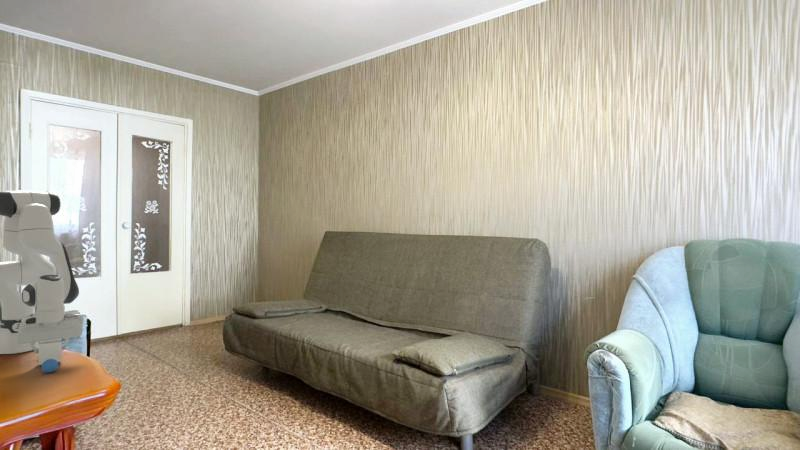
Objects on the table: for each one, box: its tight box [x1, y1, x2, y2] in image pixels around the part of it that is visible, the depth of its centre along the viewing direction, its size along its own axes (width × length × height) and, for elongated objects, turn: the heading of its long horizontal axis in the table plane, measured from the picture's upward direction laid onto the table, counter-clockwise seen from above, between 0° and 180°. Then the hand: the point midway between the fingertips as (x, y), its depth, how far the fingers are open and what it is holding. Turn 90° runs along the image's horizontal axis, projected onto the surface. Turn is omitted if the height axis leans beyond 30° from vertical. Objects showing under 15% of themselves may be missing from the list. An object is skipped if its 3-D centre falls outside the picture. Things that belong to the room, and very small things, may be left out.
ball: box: [40, 359, 59, 374], centre depth 164 cm, size 5×5×5 cm
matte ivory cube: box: [38, 339, 63, 365], centre depth 173 cm, size 7×7×8 cm
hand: (50, 351), depth 173 cm, fingers closed on matte ivory cube, 7 cm apart
